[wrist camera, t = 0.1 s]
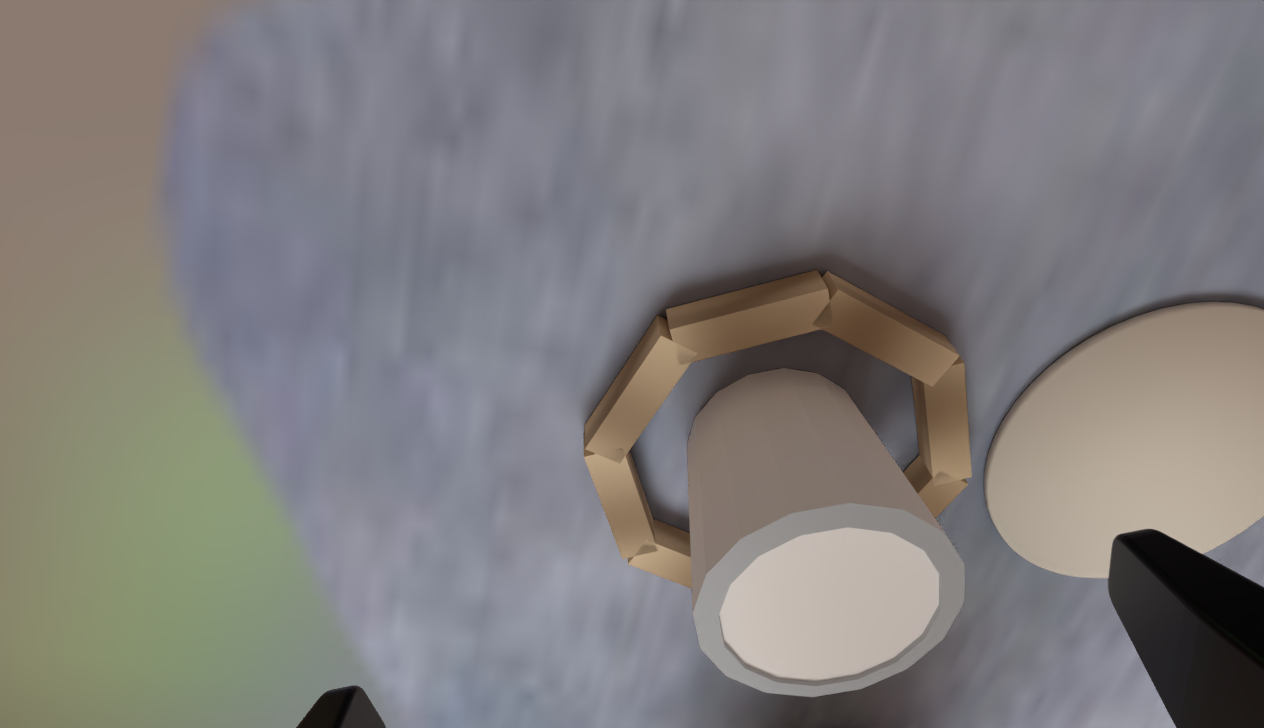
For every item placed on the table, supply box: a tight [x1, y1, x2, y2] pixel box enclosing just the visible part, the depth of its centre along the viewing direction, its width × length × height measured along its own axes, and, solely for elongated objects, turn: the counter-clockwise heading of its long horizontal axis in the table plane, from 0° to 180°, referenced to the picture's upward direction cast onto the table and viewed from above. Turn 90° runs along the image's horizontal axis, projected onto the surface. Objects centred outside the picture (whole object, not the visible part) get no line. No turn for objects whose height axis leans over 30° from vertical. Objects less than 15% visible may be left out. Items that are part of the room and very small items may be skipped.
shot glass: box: [687, 368, 965, 697], centre depth 24 cm, size 7×7×7 cm
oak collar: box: [584, 270, 972, 588], centre depth 26 cm, size 11×11×1 cm
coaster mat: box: [984, 302, 1264, 578], centre depth 27 cm, size 11×11×1 cm
